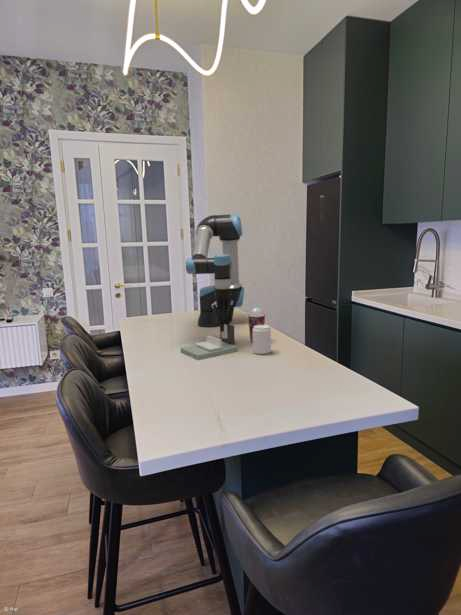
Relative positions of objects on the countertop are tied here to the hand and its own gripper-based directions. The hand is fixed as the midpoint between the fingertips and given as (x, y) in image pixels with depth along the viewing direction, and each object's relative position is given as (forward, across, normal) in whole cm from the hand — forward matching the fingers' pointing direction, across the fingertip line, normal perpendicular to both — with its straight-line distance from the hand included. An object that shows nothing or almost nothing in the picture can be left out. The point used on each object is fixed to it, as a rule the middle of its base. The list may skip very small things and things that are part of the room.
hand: (224, 337), depth 189 cm
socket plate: (+5, +9, 0) cm, 10 cm away
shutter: (+3, +9, 0) cm, 9 cm away
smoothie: (+5, -19, +1) cm, 19 cm away
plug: (+5, -6, -6) cm, 10 cm away
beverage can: (+5, -9, +17) cm, 20 cm away
